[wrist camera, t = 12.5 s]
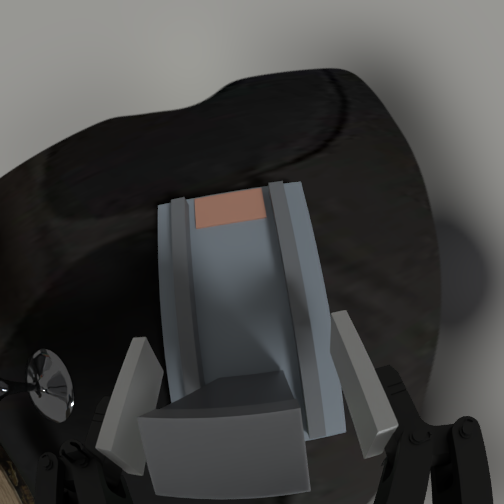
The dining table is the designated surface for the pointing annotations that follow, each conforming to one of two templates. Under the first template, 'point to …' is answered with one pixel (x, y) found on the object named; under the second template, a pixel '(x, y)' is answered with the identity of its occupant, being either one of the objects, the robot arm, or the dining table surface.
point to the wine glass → (45, 386)
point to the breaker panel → (248, 297)
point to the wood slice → (12, 483)
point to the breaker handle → (228, 441)
